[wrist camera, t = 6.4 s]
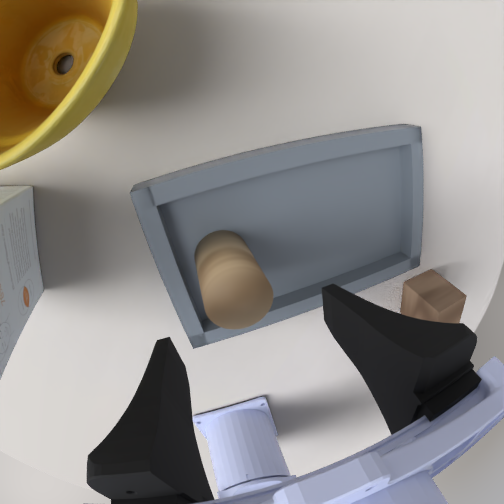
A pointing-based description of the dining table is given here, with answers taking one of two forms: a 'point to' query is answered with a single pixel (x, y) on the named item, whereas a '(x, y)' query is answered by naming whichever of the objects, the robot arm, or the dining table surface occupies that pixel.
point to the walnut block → (432, 298)
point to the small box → (17, 266)
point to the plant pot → (45, 67)
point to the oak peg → (231, 281)
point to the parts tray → (291, 219)
